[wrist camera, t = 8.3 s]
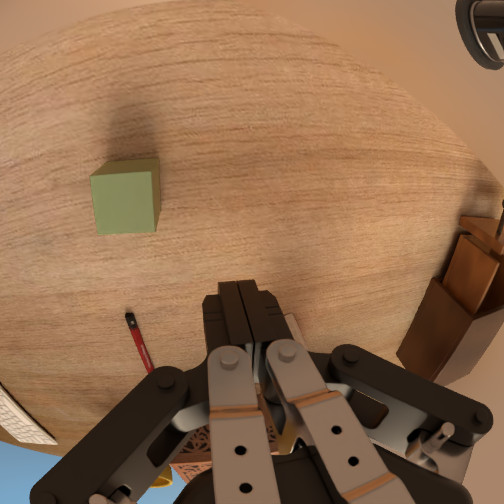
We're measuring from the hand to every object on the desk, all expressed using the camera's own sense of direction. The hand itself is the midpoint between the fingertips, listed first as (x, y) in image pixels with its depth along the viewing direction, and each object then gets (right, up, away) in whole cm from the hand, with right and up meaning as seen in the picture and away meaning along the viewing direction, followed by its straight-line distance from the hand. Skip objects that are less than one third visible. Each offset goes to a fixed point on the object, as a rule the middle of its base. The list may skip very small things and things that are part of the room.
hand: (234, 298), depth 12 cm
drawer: (+33, +2, +21) cm, 39 cm away
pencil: (-12, -10, +20) cm, 26 cm away
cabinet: (+32, -8, +28) cm, 43 cm away
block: (-9, +7, +10) cm, 16 cm away
